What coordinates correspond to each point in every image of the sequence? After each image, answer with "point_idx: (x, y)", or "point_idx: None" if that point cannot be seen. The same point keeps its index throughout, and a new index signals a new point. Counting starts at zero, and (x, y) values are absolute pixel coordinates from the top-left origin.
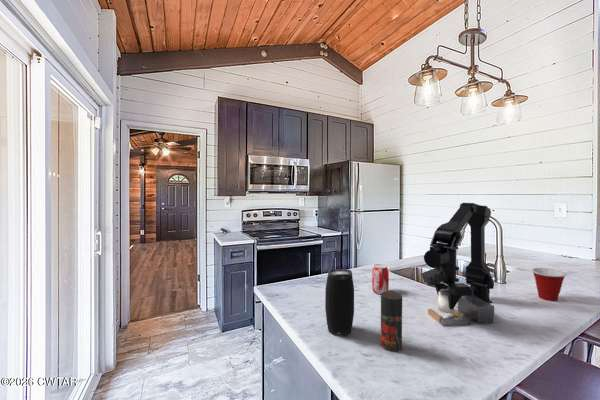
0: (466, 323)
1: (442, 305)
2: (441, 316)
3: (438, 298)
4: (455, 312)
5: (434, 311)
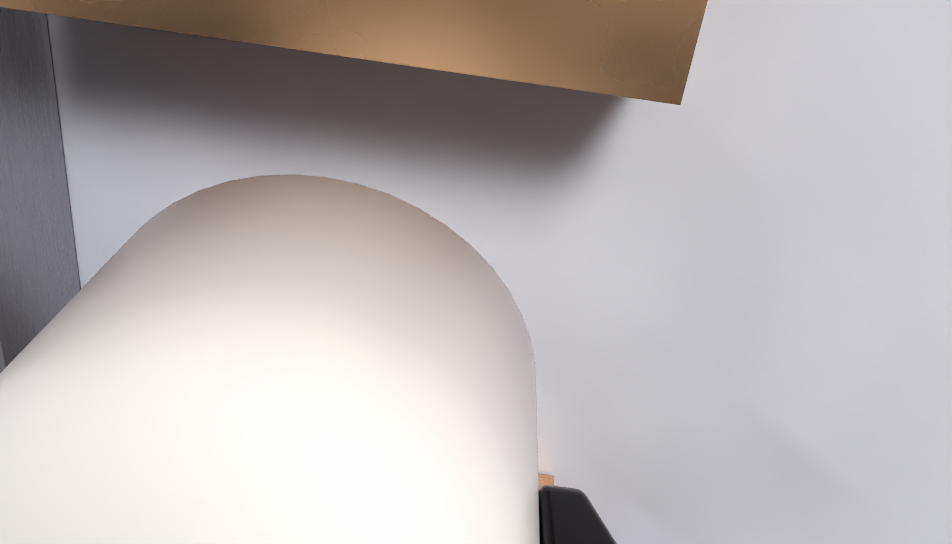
0: None
1: (87, 308)
2: (75, 17)
3: (349, 495)
4: None
5: (462, 59)
